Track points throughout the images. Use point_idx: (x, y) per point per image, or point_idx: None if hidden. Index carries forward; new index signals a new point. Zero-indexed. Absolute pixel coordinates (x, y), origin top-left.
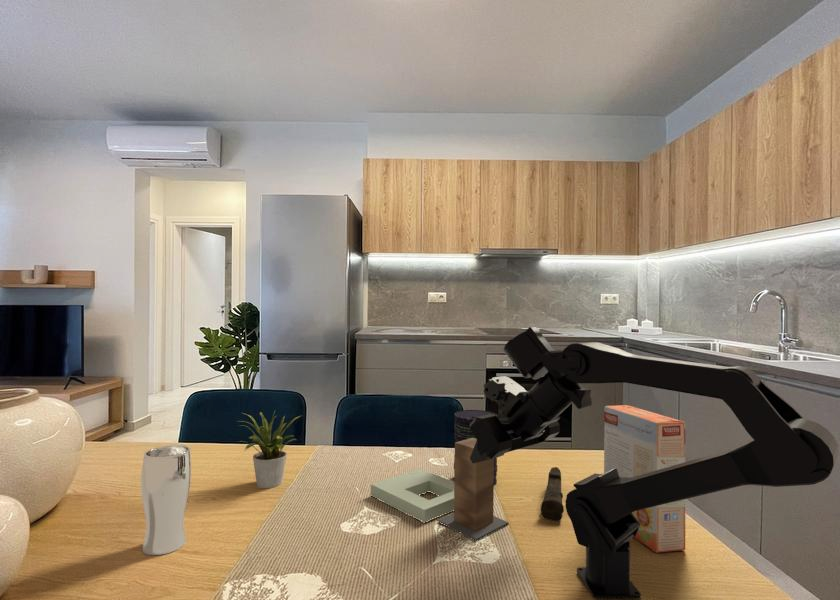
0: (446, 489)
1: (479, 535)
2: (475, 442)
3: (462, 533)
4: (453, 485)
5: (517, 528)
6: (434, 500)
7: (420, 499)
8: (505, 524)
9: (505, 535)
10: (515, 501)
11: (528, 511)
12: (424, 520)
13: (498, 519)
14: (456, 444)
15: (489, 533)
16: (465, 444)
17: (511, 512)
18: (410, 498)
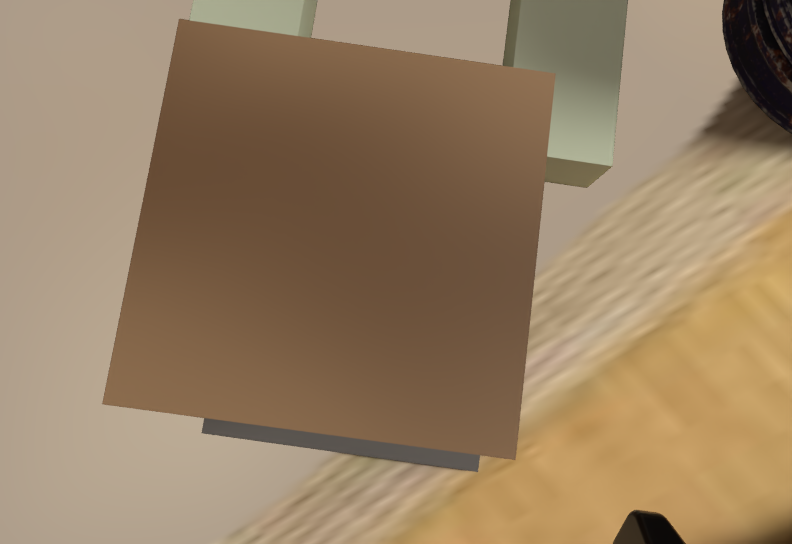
0: (517, 23)
1: (245, 425)
2: (372, 228)
3: None
4: (574, 32)
5: (470, 529)
6: None
7: (273, 3)
8: (449, 467)
9: (358, 516)
10: (763, 358)
11: (698, 479)
12: None
13: None
14: (181, 54)
15: (311, 447)
16: (195, 172)
17: (619, 410)
18: None
